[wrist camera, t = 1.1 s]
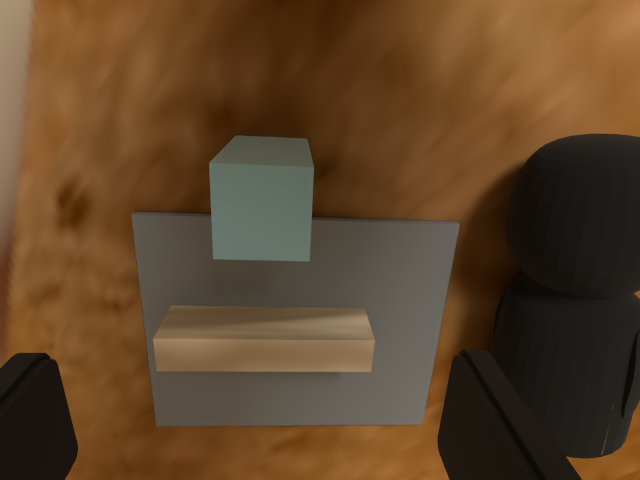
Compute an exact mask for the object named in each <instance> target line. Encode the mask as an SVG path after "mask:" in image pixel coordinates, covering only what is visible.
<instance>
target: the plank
mask: <svg viewBox="0 0 640 480" xmlns="http://www.w3.org/2000/svg"><path fill="white" fill-rule="evenodd" d="M153 343H154V352H155V361H156V370H157V371H235V372H371V369H372V361H373V352H374V344H375V339H374V336H373V333H372V329H371V326H370V323H369V320H368V317H367V314H366V310H365V308H306V307H238V306H170V308H169V310H168V311H167V313H166V315H165V317H164V319H163V321H162V323H161V325H160V326H159V328H158V330H157V332H156V334H155V336H154V338H153Z"/></svg>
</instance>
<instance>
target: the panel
mask: <svg viewBox="0 0 640 480" xmlns="http://www.w3.org/2000/svg"><path fill="white" fill-rule="evenodd" d="M131 219H132V227H133V236H134V244H135V252H136V261H137V269H138V278H139V286H140V294H141V303H142V311H143V320H144V328H145V336H146V345H147V353H148V362H149V370H150V379H151V387H152V395H153V404H154V412H155V421H156V427H159V426H292V425H422V423H423V418H424V413H425V407H426V402H427V397H428V391H429V386H430V381H431V375H432V370H433V365H434V360H435V354H436V349H437V344H438V338H439V333H440V328H441V322H442V317H443V312H444V306H445V301H446V296H447V290H448V285H449V280H450V275H451V269H452V264H453V259H454V253H455V248H456V243H457V237H458V232H459V227H460V224H459V223H457V222H447V221H416V220H384V219H353V218H322V217H312V222H311V243H310V261H270V260H227V259H213V242H212V220H211V214H196V213H164V212H133V213H132V214H131ZM170 306H238V307H306V308H365V310H366V314H367V317H368V320H369V323H370V326H371V329H372V333H373V336H374V339H375V344H374V352H373V361H372V369H371V372H235V371H157V370H156V361H155V352H154V343H153V338H154V336H155V334H156V332H157V330H158V328H159V326H160V325H161V323H162V321H163V319H164V317H165V315H166V313H167V311H168V310H169V308H170Z"/></svg>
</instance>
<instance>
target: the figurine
mask: <svg viewBox="0 0 640 480" xmlns="http://www.w3.org/2000/svg"><path fill="white" fill-rule="evenodd" d="M506 233H507V239H508V245H509V247H510V250H511V253H512V255H513V256H514V258H515V259H516V261H517V262H518V264H519V265H520V266H521V267H522V269H523V270H524V271H525V273H523V274H521V275H519V276H517V277H516V278H515V279H514V280H513V281H512V282H511V283H510V284H509V286H508V287H507V289H506V290H505V292H504V294H503V296H502V297H501V300H500V302H499V305H498V308H497V312H496V318H495V324H494V333H493V342H492V347H491V353H490V354H491V356H492V357H493V359H494V360H495V362H496V363H497V364H498V366H499V367H500V369H501V370H502V372H503V373H504V374H505V376H506V377H507V379H508V380H509V382H510V383H511V384H512V386H513V387H514V389H515V390H516V392H517V393H518V394H519V396H520V397H521V399H522V400H523V402H524V403H525V404H526V406H527V407H529V408H530V409H531V410H532V411H533V412H534V413H535V414H536V415H537V417H538V418H539V420H540V421H541V423H542V424H543V425H544V427H545V428H546V430H547V431H548V432H549V434H550V435H551V437H552V438H553V439H554V441H555V442H556V444H557V445H558V447H559V448H560V449H561V451H562V452H563V454H564V455H565V456H567V457H573V458H596V457H602V456H605V455H608V454H611V453H613V452H615V451H616V450H618V449H619V448H620V447H621V446H622V445H623V443H624V442H625V440H626V437H627V433H628V430H629V426H630V422H631V418H632V415H633V412H634V410H635V409H636V407H637V405H638V403H639V400H640V299H639V298H638V297H637V296H636V295H635V294H634V292H637V291H639V290H640V137H635V136H628V135H619V134H584V135H575V136H569V137H565V138H561V139H557V140H555V141H553V142H550V143H548V144H546V145H544V146H543V147H541V148H540V149H538V150H537V151H536V152H535V153H534V154H533V155H532V156H531V157H530V158H529V159H528V161H527V162H526V164H525V165H524V167H523V168H522V170H521V172H520V174H519V176H518V178H517V180H516V182H515V185H514V187H513V190H512V193H511V196H510V201H509V206H508V212H507V220H506Z"/></svg>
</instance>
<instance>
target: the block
mask: <svg viewBox="0 0 640 480" xmlns="http://www.w3.org/2000/svg"><path fill="white" fill-rule="evenodd" d="M209 175H210V197H211V220H212V242H213V259H227V260H270V261H310V243H311V222H312V202H313V182H314V164H313V160H312V156H311V152H310V148H309V144H308V139H306V138H285V137H263V136H242V135H236V136H235V137H234V138H233V139H232V140H231V141H230V142H229V143H228V144H227V145H226V146H225V147H224V148H223V149H222V150H221V151H220V152H219V153H218V154H217V155H216V156H215V157H214V158H213V159H212V160H211V161H210V162H209Z"/></svg>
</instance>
